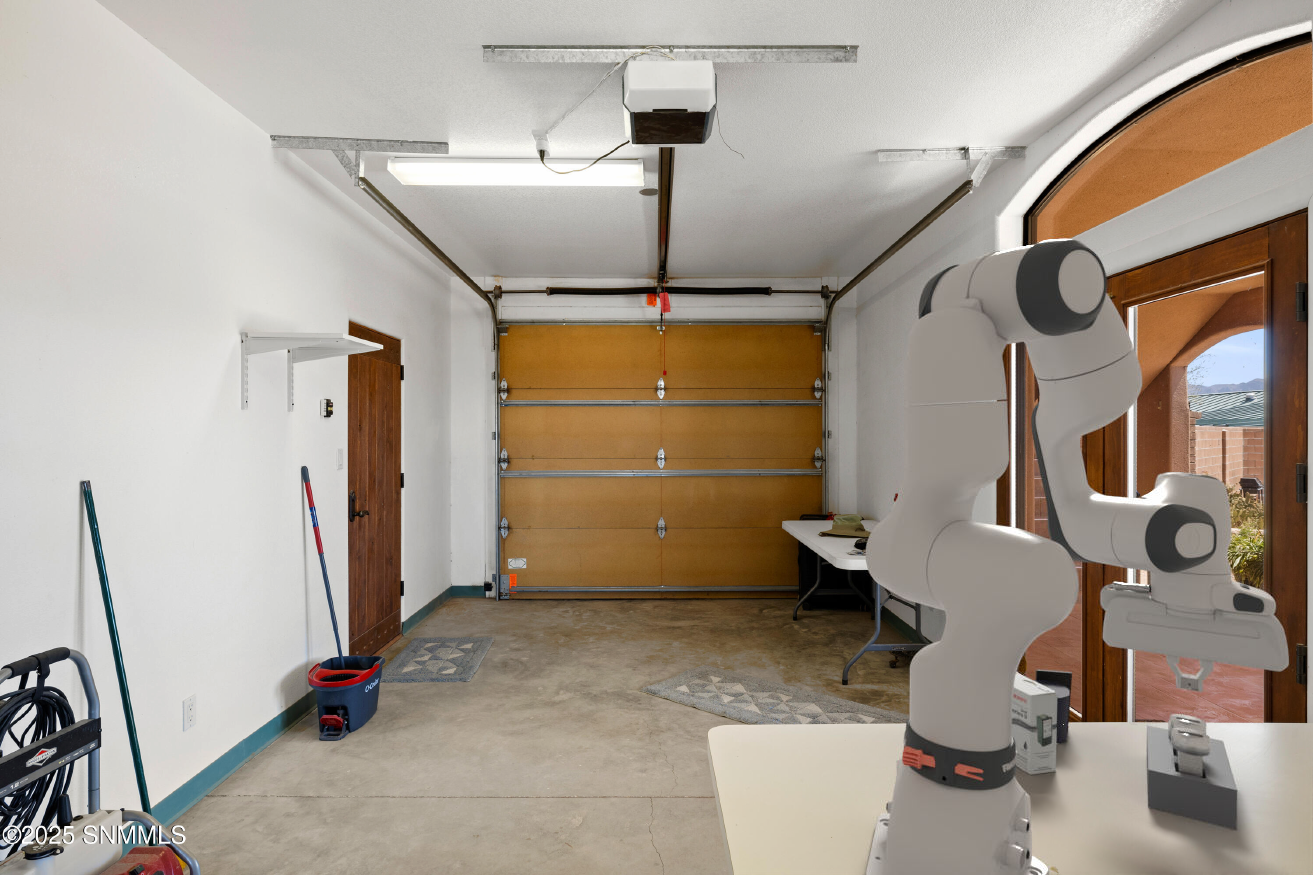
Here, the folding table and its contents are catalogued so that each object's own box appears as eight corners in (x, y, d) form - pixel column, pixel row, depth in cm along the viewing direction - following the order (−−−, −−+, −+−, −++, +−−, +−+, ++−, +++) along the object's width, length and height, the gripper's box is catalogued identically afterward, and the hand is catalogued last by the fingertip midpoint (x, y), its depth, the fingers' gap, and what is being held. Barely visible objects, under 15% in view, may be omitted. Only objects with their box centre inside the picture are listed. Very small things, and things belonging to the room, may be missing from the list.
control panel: (1236, 829, 85) (1237, 790, 85) (1148, 806, 91) (1148, 769, 91) (1222, 775, 99) (1223, 740, 99) (1146, 757, 105) (1146, 725, 105)
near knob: (1210, 782, 88) (1211, 742, 88) (1171, 773, 90) (1172, 734, 90) (1208, 769, 91) (1208, 731, 91) (1170, 761, 93) (1170, 724, 93)
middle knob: (1207, 765, 92) (1207, 727, 92) (1170, 757, 94) (1170, 720, 94) (1204, 754, 95) (1205, 717, 95) (1168, 746, 98) (1169, 711, 98)
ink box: (987, 749, 107) (988, 673, 107) (1013, 745, 108) (1014, 671, 108) (1030, 775, 99) (1030, 694, 99) (1058, 771, 100) (1059, 691, 100)
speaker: (1029, 720, 117) (1032, 662, 116) (1068, 730, 114) (1072, 671, 113) (1024, 741, 111) (1028, 680, 110) (1065, 752, 108) (1070, 689, 107)
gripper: (1099, 584, 98) (1098, 679, 98) (1291, 604, 87) (1291, 713, 87) (1101, 576, 103) (1100, 667, 104) (1283, 594, 92) (1282, 697, 92)
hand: (1189, 688), depth 95 cm, fingers closed
